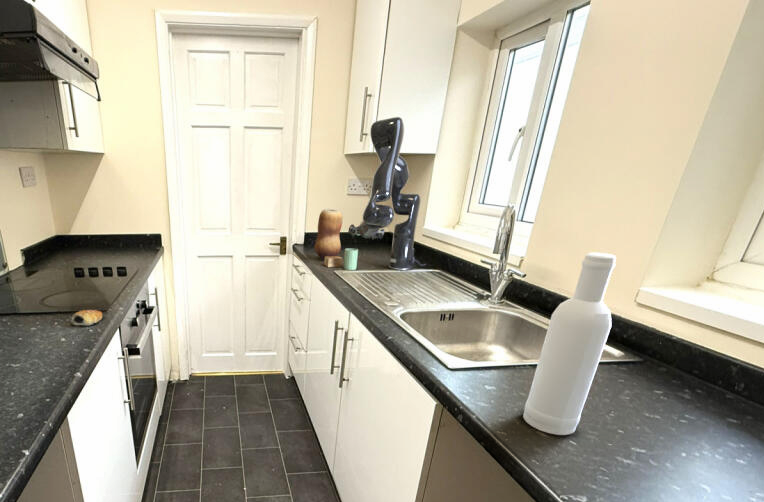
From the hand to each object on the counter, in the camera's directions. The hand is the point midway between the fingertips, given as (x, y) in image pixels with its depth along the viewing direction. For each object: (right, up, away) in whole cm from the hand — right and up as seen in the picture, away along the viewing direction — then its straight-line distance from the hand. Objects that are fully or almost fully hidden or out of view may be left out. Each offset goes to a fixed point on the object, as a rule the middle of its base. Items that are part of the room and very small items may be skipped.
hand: (363, 235), depth 178 cm
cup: (-2, -12, +15) cm, 19 cm away
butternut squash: (-10, -3, +37) cm, 38 cm away
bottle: (+6, -61, -105) cm, 121 cm away
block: (-9, -9, +22) cm, 25 cm away
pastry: (-97, -40, -55) cm, 119 cm away
